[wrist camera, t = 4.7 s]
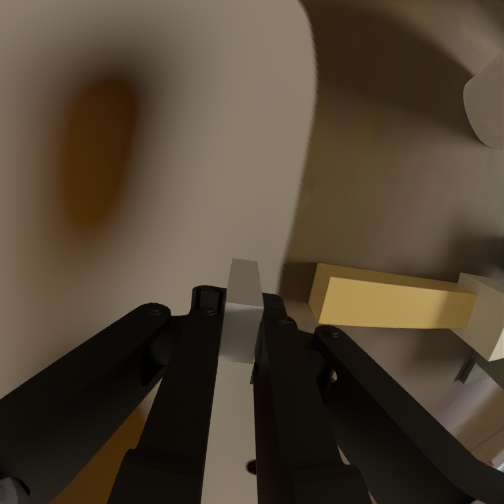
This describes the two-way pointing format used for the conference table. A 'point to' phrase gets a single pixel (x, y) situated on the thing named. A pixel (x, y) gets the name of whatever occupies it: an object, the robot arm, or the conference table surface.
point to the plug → (412, 304)
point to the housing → (483, 370)
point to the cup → (487, 103)
